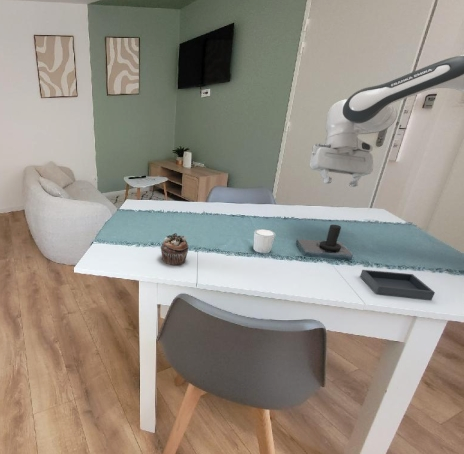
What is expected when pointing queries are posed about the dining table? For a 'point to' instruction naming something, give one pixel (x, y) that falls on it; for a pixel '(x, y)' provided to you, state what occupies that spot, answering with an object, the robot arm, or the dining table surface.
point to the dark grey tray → (396, 284)
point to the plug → (332, 238)
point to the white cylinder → (263, 240)
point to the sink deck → (322, 250)
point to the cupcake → (174, 249)
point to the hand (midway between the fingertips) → (340, 184)
